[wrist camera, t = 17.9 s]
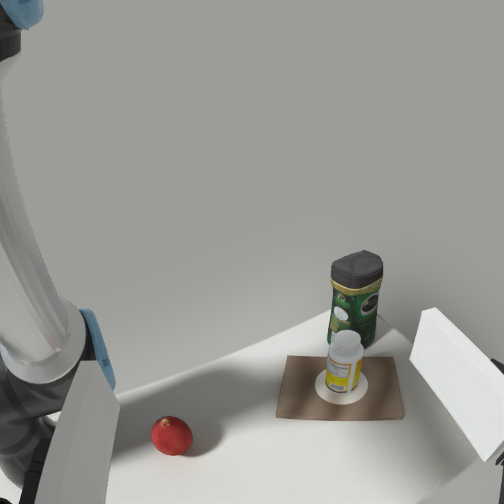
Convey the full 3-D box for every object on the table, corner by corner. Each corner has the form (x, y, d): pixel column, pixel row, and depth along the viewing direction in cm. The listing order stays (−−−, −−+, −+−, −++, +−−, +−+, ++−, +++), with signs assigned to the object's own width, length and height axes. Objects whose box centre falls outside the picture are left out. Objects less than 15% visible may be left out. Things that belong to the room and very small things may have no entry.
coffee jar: (352, 323, 64) (359, 243, 56) (379, 340, 57) (392, 256, 50) (319, 341, 59) (322, 256, 52) (346, 362, 53) (357, 272, 46)
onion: (153, 444, 38) (135, 414, 35) (184, 428, 42) (171, 397, 38) (171, 470, 34) (154, 443, 31) (204, 452, 37) (193, 423, 34)
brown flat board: (276, 417, 43) (275, 413, 43) (287, 359, 56) (287, 354, 55) (402, 418, 39) (404, 414, 38) (392, 360, 51) (393, 356, 51)
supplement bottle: (350, 369, 49) (357, 323, 45) (362, 391, 44) (372, 345, 40) (320, 376, 49) (324, 330, 45) (330, 399, 44) (336, 353, 40)
